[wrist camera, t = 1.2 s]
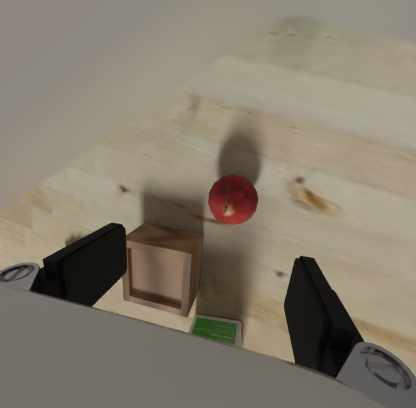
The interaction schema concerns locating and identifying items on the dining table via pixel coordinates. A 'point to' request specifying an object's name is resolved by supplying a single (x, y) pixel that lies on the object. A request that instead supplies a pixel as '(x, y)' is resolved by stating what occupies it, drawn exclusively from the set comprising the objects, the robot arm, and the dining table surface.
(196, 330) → the skincare box
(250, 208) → the onion
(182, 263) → the wooden crate
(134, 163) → the dining table surface
